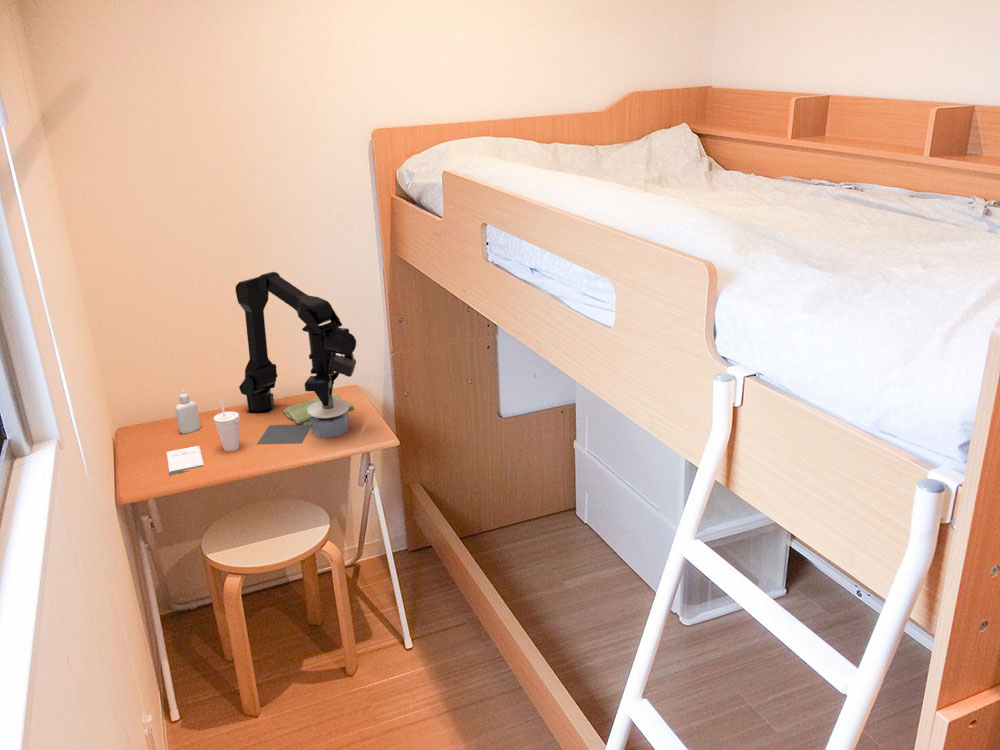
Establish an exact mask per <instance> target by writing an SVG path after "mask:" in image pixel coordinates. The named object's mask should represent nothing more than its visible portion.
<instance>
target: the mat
mask: <svg viewBox="0 0 1000 750" xmlns="http://www.w3.org/2000/svg"><path fill="white" fill-rule="evenodd" d="M310 429H312V425H311V423H310V424H305V425H303V424H270V425H269V426H268V427H267V428H266V430H265V431H264V432H263V434H262V436H261V437H260V438H259V440H258V441H257V443H256V445H291V444H293V445H294V444H295V445H296V444H301V445H302V444H303V443H304V440H305V438H306V437H307V435H308V433H309V431H310Z"/></svg>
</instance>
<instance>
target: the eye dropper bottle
mask: <svg viewBox="0 0 1000 750" xmlns="http://www.w3.org/2000/svg"><path fill="white" fill-rule="evenodd" d="M178 396H179V402H180V403H178V404H177V405H176V406H175V407H174V409H175V416H176V422H177V426H178V427H177V428H178V432H179V433H181V434H182V435H183V434H189V433H194V432H196V431H198V430H199V429H200V428H201V427H202V426H201V422H200V415H199V410H198V405H197V403H196V402H195V401H194V400H193V401H192V400H191V399H190V396H189V393H186V391H185V389H182V390H181V392H180V394H179V395H178Z"/></svg>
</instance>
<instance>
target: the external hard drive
mask: <svg viewBox="0 0 1000 750" xmlns="http://www.w3.org/2000/svg"><path fill="white" fill-rule="evenodd" d="M166 459H167V465H168V466H167V467H168V473H169V476H172V474H173V475H176V474H177V473H178V474H182V473H183V474H184V473H187V472H189V470H192V469H196V468H201V467H205V463H204V460H203V456H202V452H201V447H200V445H195V446H190V447H186V448H180V449H174V450H169V451H166Z"/></svg>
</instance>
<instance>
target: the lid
mask: <svg viewBox="0 0 1000 750" xmlns="http://www.w3.org/2000/svg"><path fill="white" fill-rule="evenodd" d="M347 402H348V401H346V400H344V401H343V399H342V400H338V399H333V396H332V395H329V404H328V406H324V405H323V404H322V402H321V401H318V402H315V403H313V404H311V405H310V406H309V407H308V408H307V412H308V414H309V415H310V416H312V417H316V418H331V417H336V416H340V415H342V414H344V413H346V412H347V411H348V410H349V404H348V403H349V402H348V403H347ZM348 412H349V411H348ZM348 412H347V413H348Z"/></svg>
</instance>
